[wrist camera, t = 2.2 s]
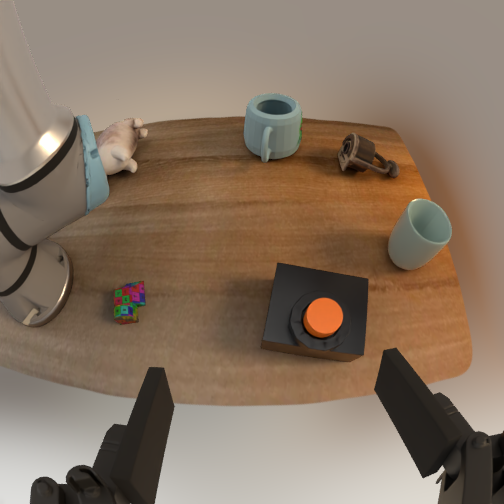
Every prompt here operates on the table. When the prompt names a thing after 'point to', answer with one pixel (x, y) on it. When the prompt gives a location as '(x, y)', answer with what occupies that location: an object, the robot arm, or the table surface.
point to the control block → (297, 302)
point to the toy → (120, 145)
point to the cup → (418, 234)
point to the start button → (323, 317)
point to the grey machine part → (363, 156)
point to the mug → (273, 126)
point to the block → (128, 302)
